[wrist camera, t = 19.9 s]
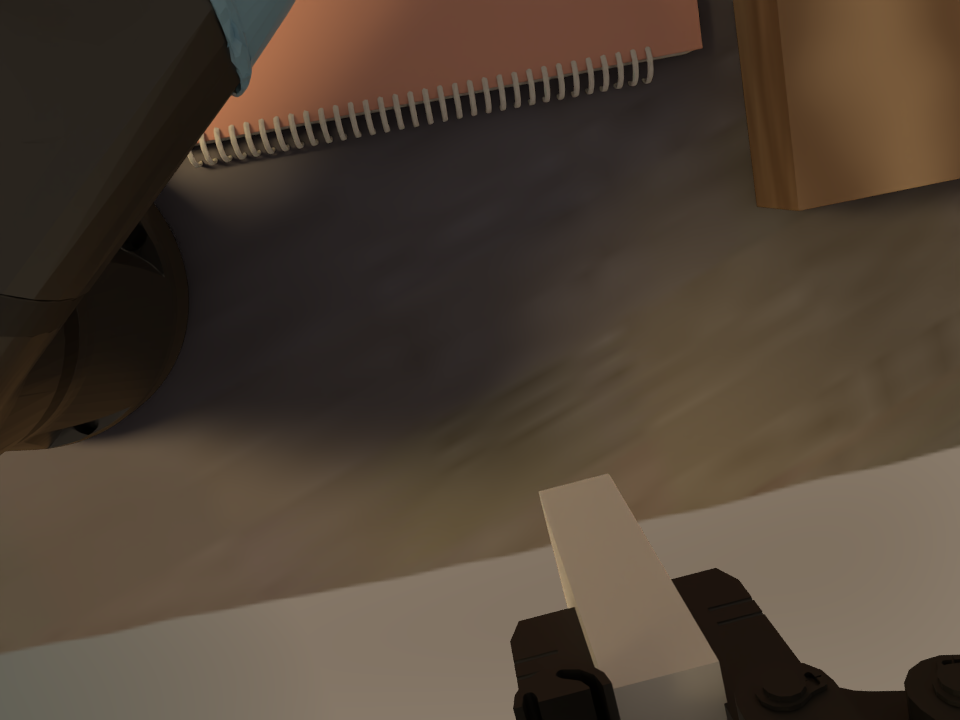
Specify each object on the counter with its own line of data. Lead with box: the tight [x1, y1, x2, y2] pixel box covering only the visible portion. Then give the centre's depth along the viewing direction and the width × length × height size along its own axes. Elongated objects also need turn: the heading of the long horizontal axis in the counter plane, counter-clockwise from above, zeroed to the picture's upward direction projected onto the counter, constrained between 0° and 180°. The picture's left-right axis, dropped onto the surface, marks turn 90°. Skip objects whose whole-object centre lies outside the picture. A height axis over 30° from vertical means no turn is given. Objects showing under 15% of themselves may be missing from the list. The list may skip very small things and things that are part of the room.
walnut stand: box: [733, 0, 960, 211], centre depth 37 cm, size 14×16×5 cm
